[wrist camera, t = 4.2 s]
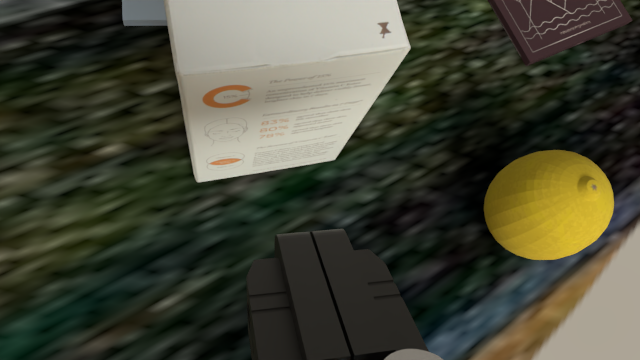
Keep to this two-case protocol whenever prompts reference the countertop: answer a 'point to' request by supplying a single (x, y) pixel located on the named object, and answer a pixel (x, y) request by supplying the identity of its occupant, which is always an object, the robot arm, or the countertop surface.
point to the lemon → (548, 205)
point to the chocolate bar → (556, 23)
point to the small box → (278, 77)
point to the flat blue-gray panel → (144, 13)
